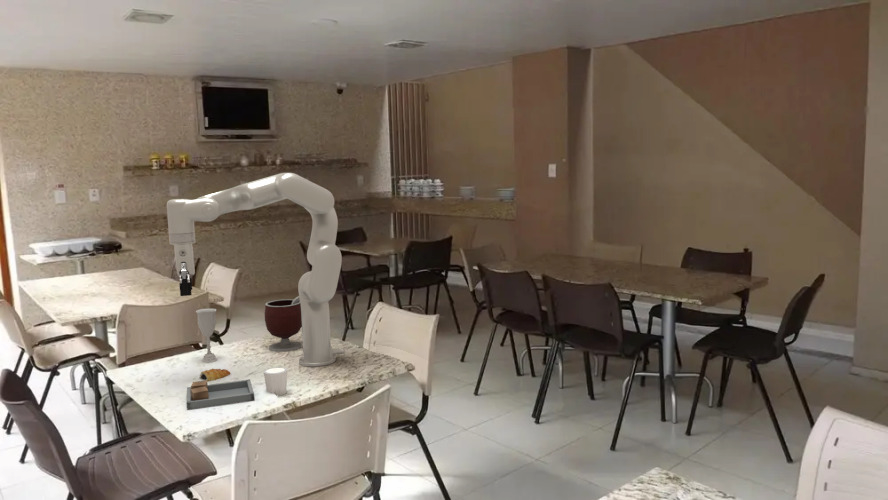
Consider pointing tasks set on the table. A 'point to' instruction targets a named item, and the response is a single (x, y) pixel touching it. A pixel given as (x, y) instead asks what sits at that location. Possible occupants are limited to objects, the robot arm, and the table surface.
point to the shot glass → (276, 380)
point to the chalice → (207, 329)
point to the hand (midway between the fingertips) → (186, 292)
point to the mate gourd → (283, 323)
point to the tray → (223, 394)
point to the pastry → (214, 374)
